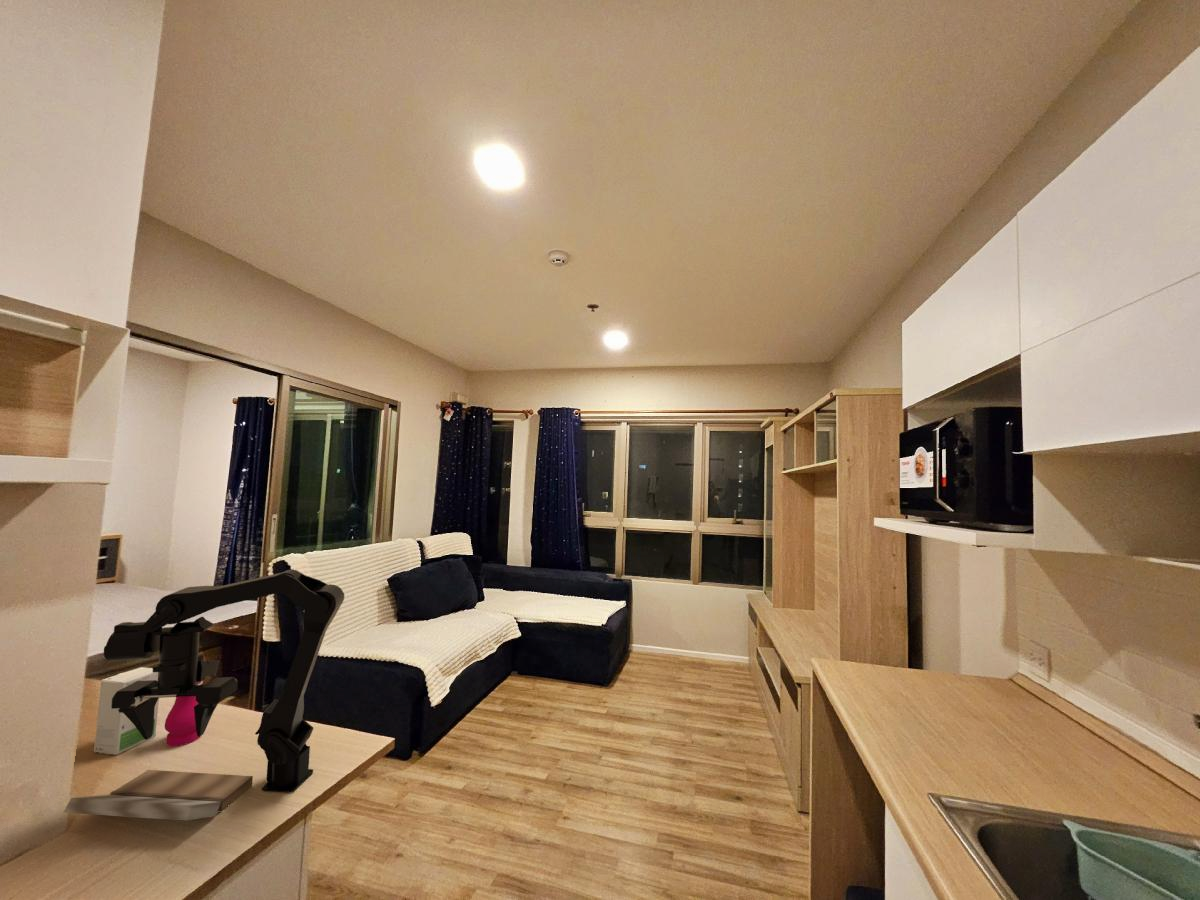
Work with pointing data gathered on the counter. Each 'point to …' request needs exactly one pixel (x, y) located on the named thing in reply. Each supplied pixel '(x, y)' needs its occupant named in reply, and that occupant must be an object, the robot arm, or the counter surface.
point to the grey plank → (143, 807)
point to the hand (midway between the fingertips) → (174, 737)
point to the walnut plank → (187, 786)
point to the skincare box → (120, 714)
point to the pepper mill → (182, 721)
